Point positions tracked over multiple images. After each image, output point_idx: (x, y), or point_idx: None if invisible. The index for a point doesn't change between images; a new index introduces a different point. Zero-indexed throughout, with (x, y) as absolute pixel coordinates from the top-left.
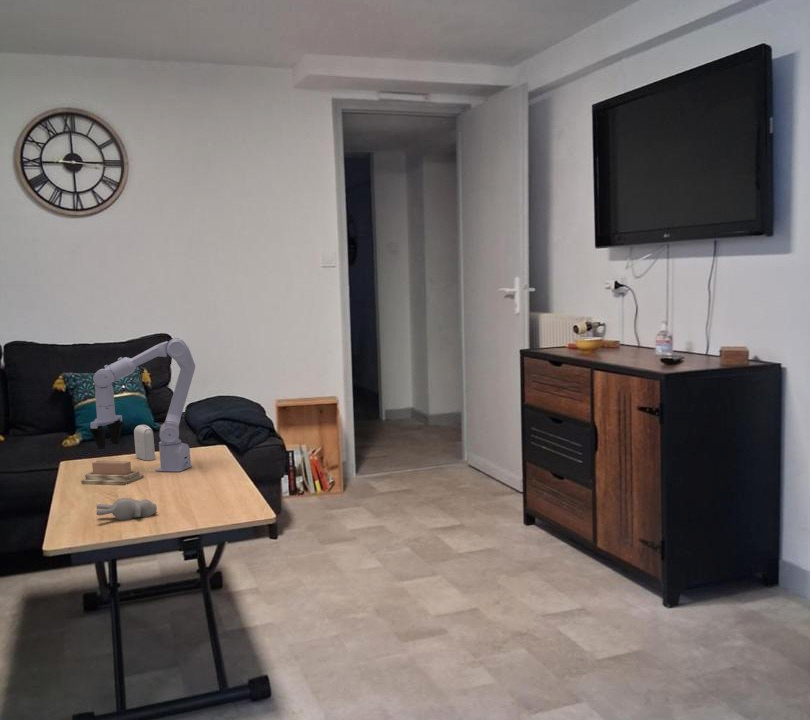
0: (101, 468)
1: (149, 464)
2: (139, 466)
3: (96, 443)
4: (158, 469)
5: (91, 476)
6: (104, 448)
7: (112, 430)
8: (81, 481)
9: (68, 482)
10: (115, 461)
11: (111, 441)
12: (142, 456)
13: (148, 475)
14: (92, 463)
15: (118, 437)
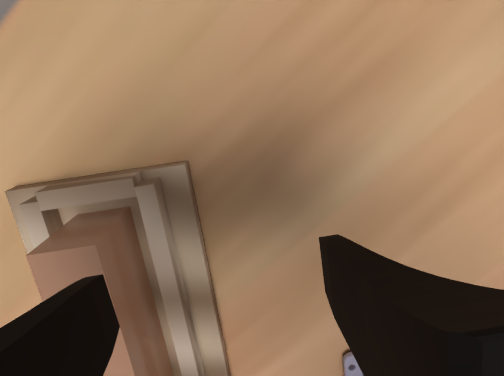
0: None
1: (491, 213)
2: (441, 193)
3: (39, 306)
4: (354, 366)
5: (36, 241)
6: (113, 328)
7: (385, 353)
8: (7, 191)
9: (5, 74)
10: (126, 372)
11: (325, 244)
12: None
13: (270, 371)
14: (29, 255)
15: (353, 350)
